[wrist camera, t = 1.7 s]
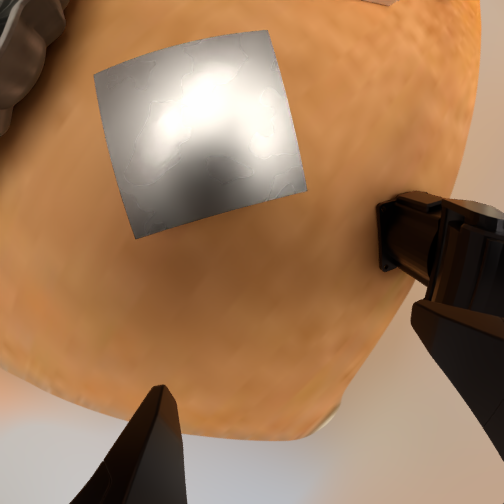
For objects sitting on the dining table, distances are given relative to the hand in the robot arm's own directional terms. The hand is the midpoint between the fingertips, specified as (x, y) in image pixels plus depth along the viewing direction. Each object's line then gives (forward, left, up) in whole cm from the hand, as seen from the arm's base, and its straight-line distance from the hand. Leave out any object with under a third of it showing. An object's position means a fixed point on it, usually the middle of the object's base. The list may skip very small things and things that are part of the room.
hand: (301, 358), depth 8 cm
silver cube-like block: (+8, +1, -13) cm, 15 cm away
